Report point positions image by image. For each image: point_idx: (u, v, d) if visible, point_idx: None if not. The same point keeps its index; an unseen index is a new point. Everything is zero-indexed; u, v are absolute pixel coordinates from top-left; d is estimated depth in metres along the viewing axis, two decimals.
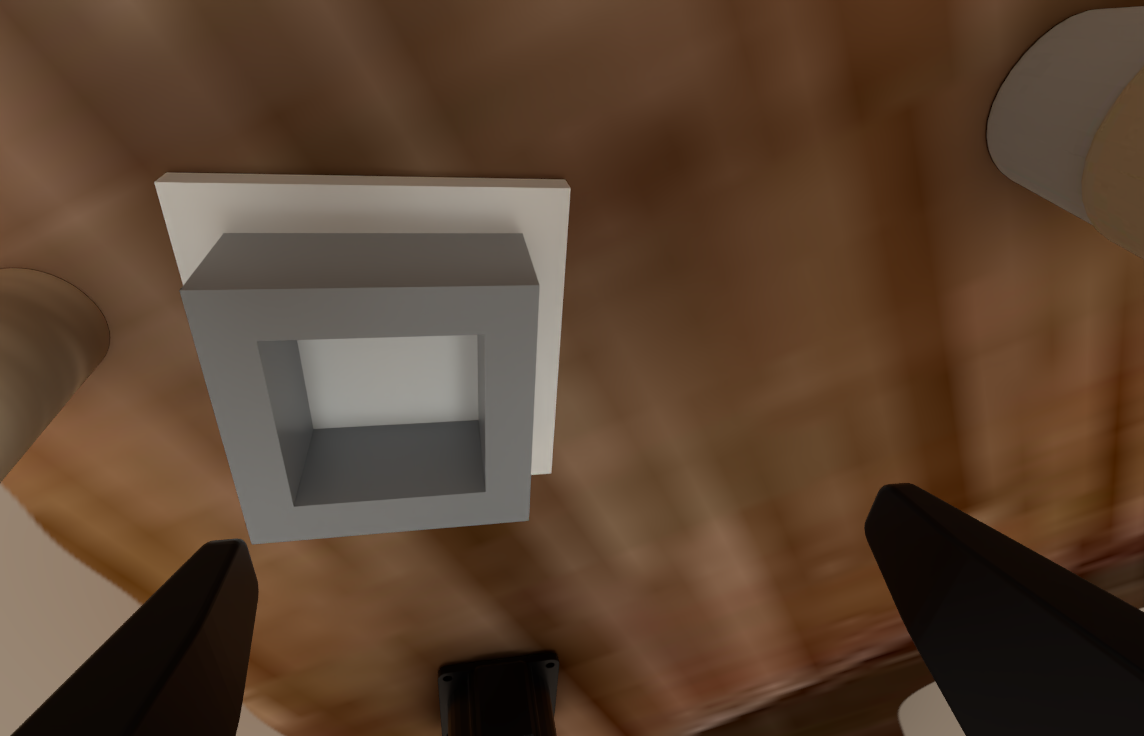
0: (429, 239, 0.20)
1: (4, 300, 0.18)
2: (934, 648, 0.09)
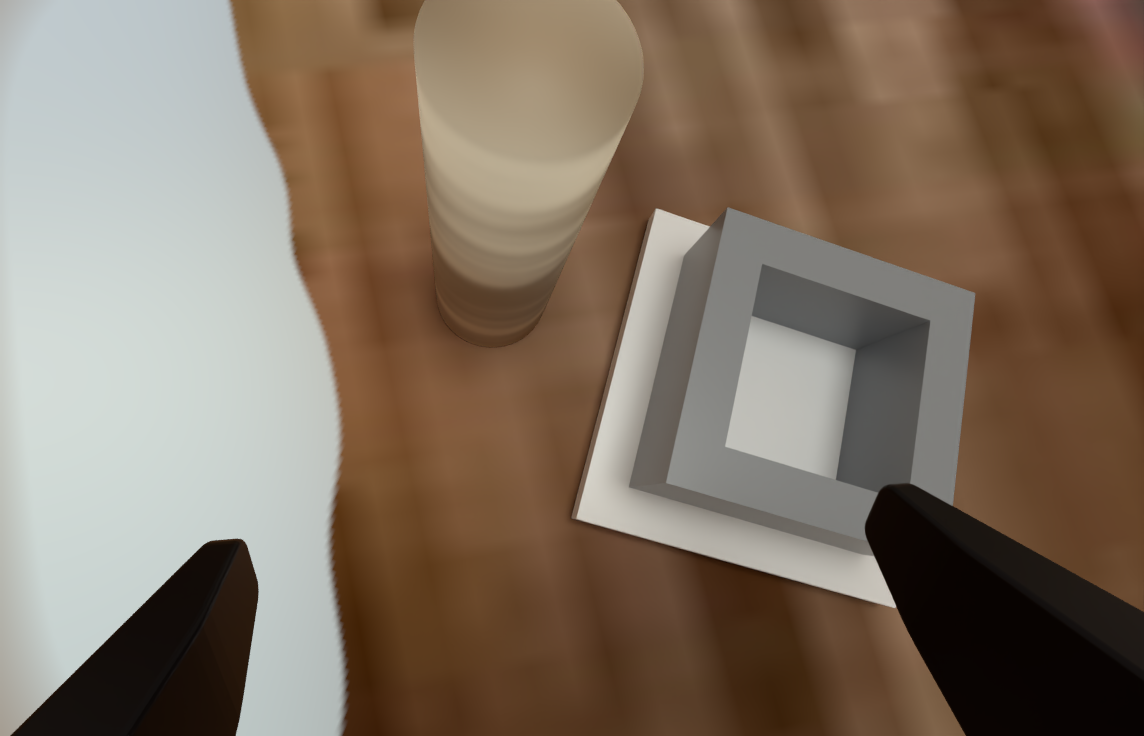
0: None
1: None
2: (934, 648, 0.09)
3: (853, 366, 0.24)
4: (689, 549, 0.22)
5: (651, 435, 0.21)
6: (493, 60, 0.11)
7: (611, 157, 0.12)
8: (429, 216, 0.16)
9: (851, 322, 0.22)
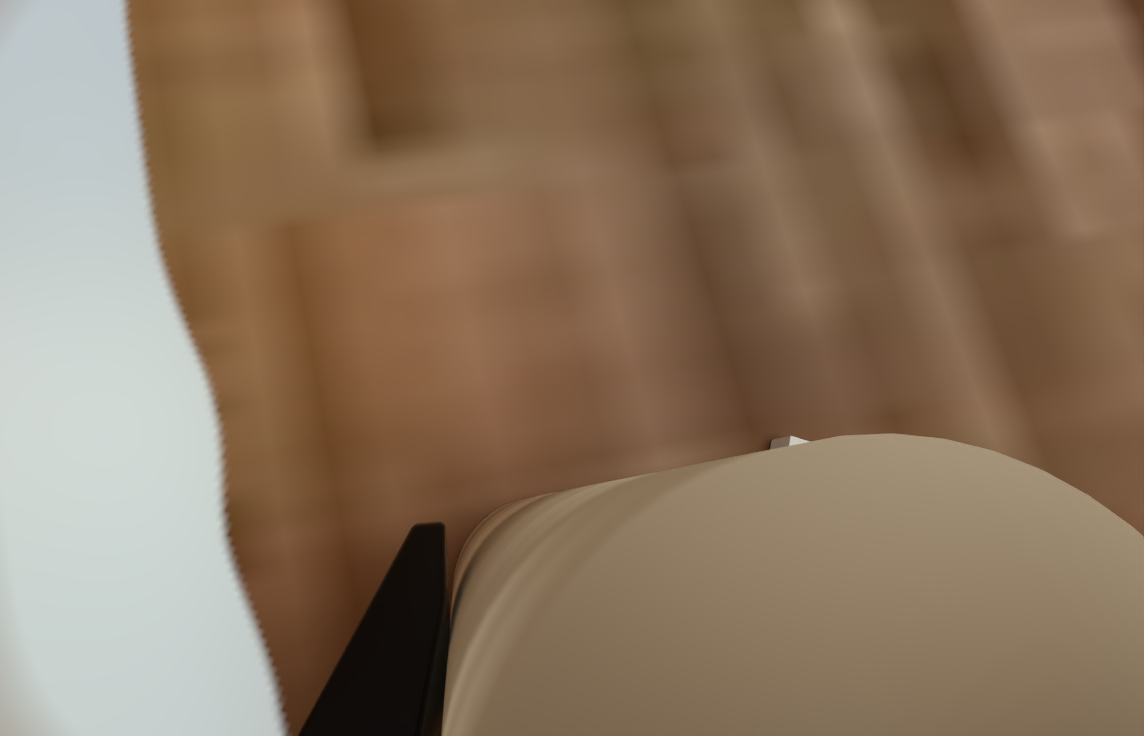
0: None
1: None
2: None
3: None
4: None
5: None
6: None
7: None
8: None
9: None
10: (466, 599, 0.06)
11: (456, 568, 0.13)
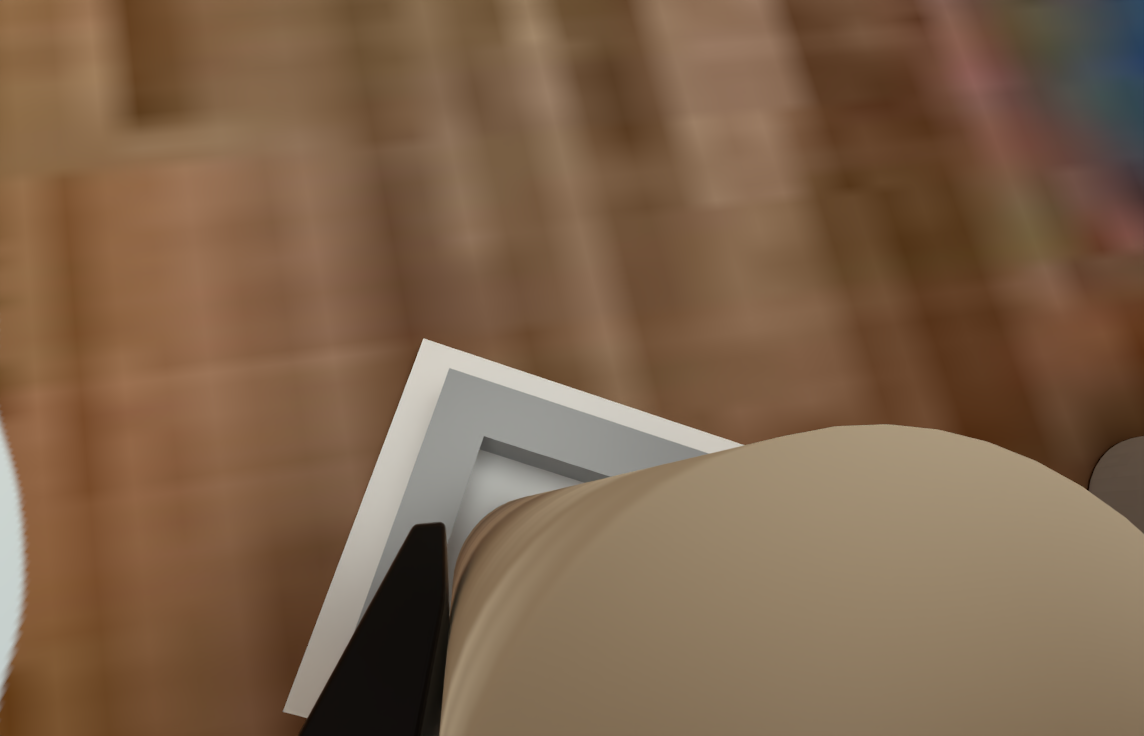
0: None
1: None
2: None
3: None
4: None
5: None
6: None
7: None
8: None
9: None
10: (465, 595, 0.06)
11: None
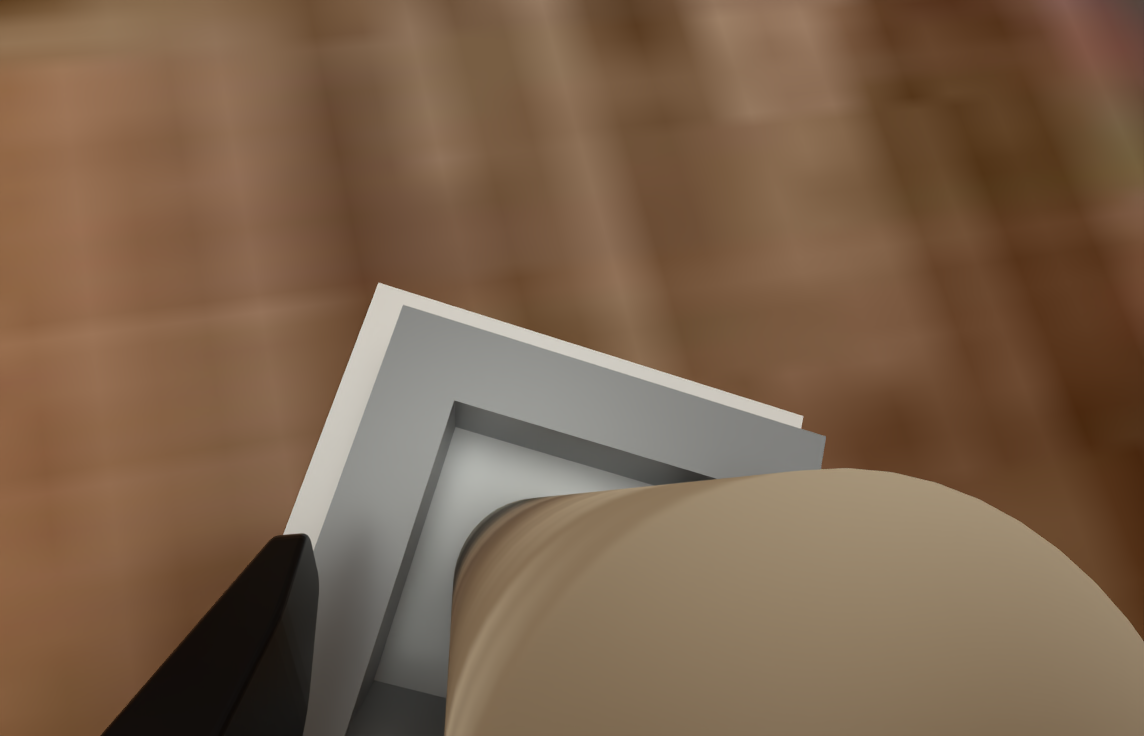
0: None
1: None
2: None
3: None
4: None
5: None
6: None
7: None
8: None
9: (644, 471, 0.14)
10: (467, 603, 0.07)
11: (456, 568, 0.14)
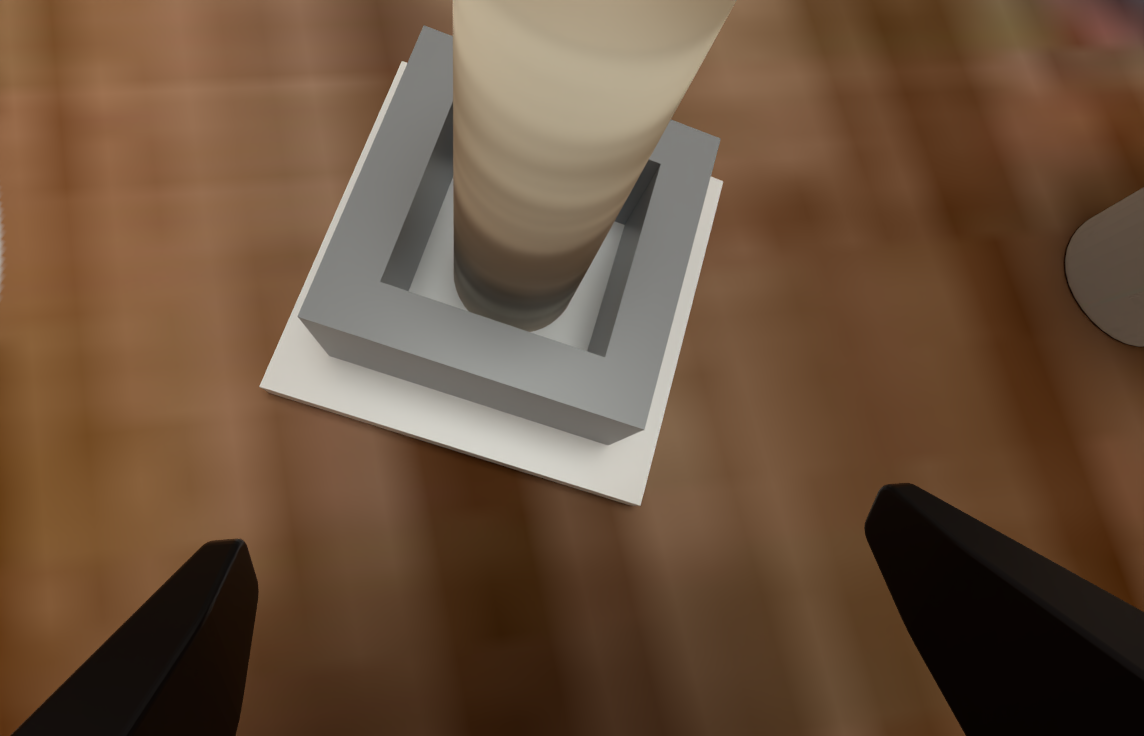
0: None
1: None
2: (934, 648, 0.09)
3: (619, 242, 0.22)
4: (395, 428, 0.19)
5: None
6: None
7: (695, 74, 0.10)
8: (454, 164, 0.13)
9: None
10: None
11: None
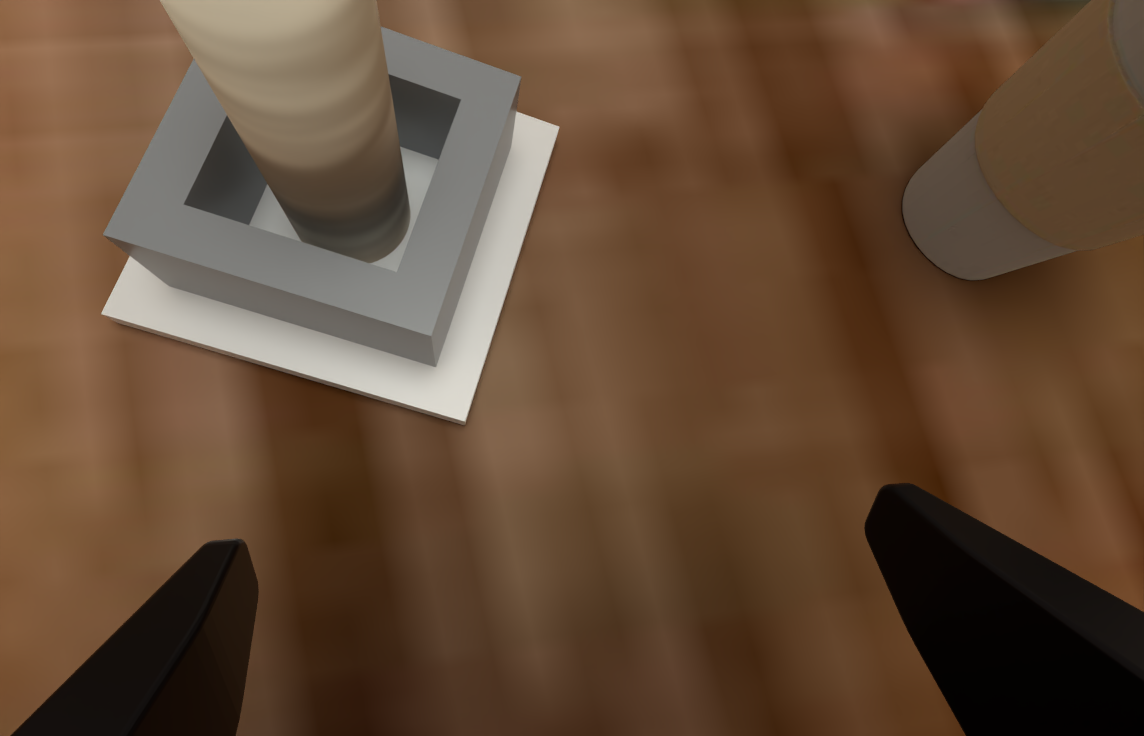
0: None
1: None
2: (934, 648, 0.09)
3: None
4: (230, 351, 0.21)
5: None
6: None
7: None
8: None
9: (416, 119, 0.21)
10: None
11: None
